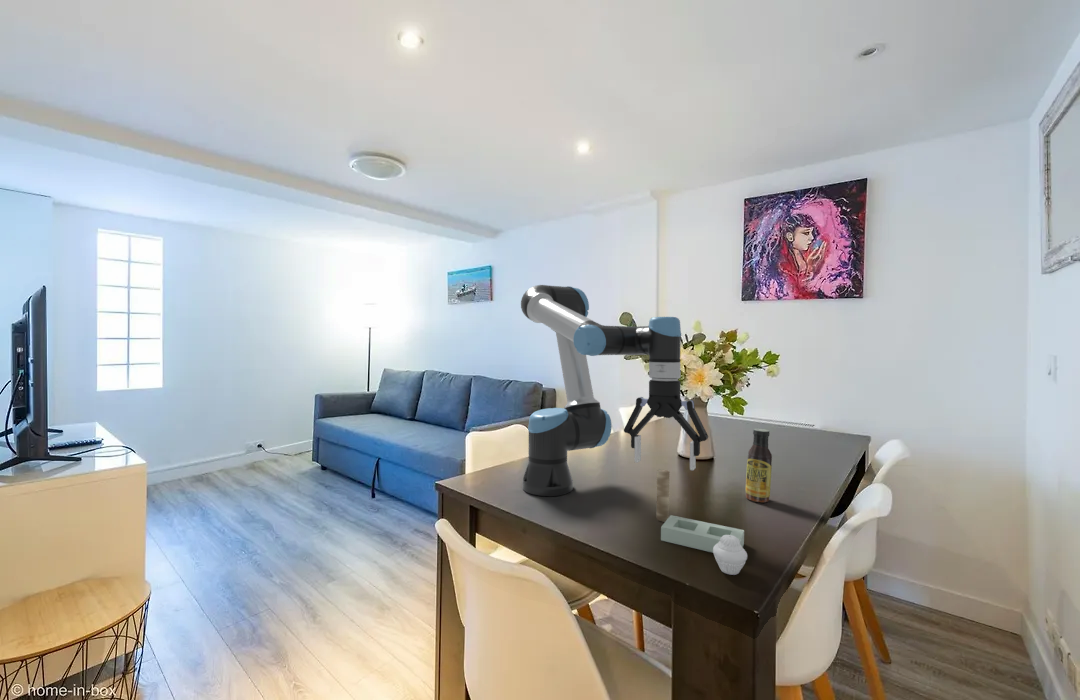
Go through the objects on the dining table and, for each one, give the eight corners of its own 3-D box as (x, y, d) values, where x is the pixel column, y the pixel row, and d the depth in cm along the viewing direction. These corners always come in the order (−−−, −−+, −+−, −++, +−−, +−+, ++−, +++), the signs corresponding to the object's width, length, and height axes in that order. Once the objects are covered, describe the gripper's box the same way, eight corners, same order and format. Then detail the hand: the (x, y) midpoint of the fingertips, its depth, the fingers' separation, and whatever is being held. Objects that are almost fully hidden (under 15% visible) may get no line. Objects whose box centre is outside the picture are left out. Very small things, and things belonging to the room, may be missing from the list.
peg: (654, 519, 111) (655, 471, 110) (658, 515, 113) (658, 468, 113) (667, 522, 109) (667, 473, 109) (670, 518, 112) (670, 470, 112)
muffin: (740, 582, 82) (741, 545, 82) (707, 571, 86) (708, 535, 86) (751, 570, 87) (751, 534, 87) (719, 559, 91) (719, 525, 91)
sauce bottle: (742, 499, 125) (743, 429, 125) (749, 494, 130) (750, 426, 130) (767, 505, 121) (768, 432, 120) (774, 499, 125) (775, 429, 125)
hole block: (660, 540, 99) (661, 526, 99) (670, 527, 106) (670, 515, 106) (738, 558, 91) (739, 544, 91) (743, 543, 98) (744, 530, 98)
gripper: (611, 378, 114) (611, 461, 114) (715, 382, 101) (714, 476, 101) (622, 376, 120) (621, 455, 120) (720, 380, 107) (720, 468, 107)
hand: (664, 465), depth 111 cm, fingers open, 13 cm apart
